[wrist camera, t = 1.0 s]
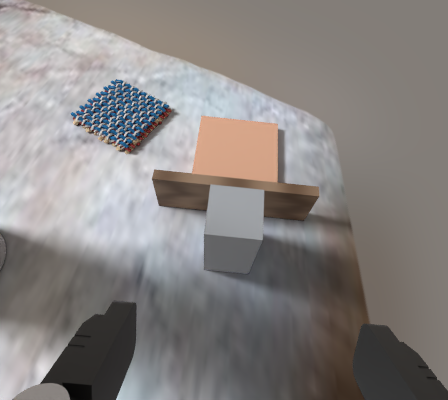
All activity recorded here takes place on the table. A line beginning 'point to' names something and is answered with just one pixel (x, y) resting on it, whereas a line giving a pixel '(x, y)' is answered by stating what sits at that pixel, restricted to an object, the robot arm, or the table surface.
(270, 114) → the table surface
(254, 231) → the plain grey block
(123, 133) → the woven mat
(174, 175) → the walnut screen
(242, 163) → the terracotta tile
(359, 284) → the table surface
